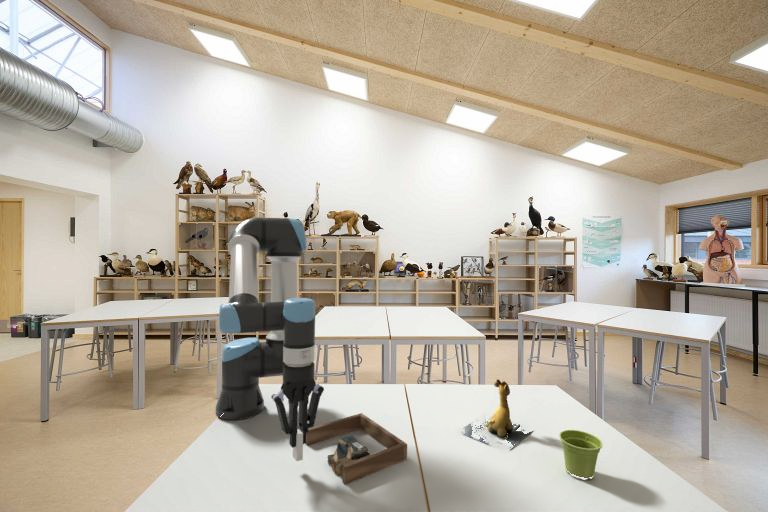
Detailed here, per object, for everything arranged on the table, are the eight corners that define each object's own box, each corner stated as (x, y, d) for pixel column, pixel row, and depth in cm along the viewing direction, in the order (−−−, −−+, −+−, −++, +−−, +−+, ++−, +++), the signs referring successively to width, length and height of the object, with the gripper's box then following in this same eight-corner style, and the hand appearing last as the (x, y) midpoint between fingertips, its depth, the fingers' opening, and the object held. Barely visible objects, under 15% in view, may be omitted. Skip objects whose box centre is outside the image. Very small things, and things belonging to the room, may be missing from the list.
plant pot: (600, 490, 86) (601, 453, 86) (556, 476, 91) (556, 441, 91) (602, 470, 94) (603, 436, 94) (561, 458, 99) (561, 426, 99)
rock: (324, 464, 95) (324, 442, 95) (356, 452, 101) (356, 432, 101) (341, 482, 88) (341, 458, 88) (374, 468, 94) (374, 446, 94)
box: (305, 443, 105) (305, 429, 105) (361, 425, 116) (361, 413, 116) (344, 484, 87) (345, 467, 87) (407, 459, 98) (407, 444, 98)
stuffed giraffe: (534, 430, 115) (533, 379, 114) (507, 455, 102) (506, 397, 101) (486, 415, 126) (485, 368, 126) (457, 436, 113) (455, 383, 113)
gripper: (278, 371, 84) (277, 474, 85) (330, 361, 92) (328, 456, 93) (267, 362, 90) (266, 459, 91) (316, 354, 98) (315, 443, 99)
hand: (297, 457), depth 92 cm, fingers closed
